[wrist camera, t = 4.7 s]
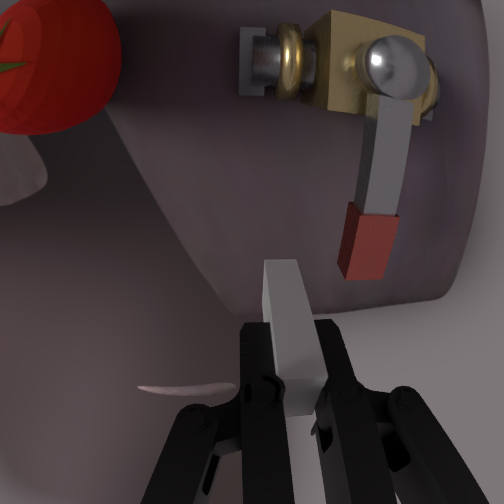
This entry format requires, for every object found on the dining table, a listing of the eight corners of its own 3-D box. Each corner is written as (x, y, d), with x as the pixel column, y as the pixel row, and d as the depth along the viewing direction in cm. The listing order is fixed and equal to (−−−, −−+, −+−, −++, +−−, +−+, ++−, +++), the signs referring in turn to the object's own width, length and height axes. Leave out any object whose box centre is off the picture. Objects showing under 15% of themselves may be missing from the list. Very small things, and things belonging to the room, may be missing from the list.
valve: (238, 100, 22) (237, 105, 16) (240, 27, 19) (240, 1, 12) (419, 122, 23) (469, 140, 16) (424, 59, 19) (476, 60, 13)
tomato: (30, 55, 17) (-71, 67, 5) (115, -16, 15) (30, -63, 3) (75, 143, 23) (-22, 200, 11) (168, 79, 21) (92, 75, 9)
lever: (355, 33, 13) (372, 27, 11) (409, 48, 13) (431, 46, 11) (330, 261, 22) (339, 282, 19) (376, 260, 22) (388, 280, 19)
